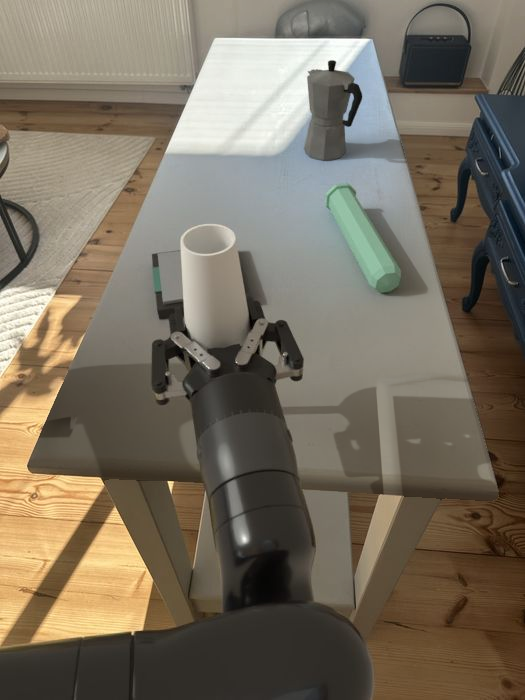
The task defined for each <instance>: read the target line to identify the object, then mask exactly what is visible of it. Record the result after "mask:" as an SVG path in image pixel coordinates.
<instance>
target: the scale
mask: <svg viewBox="0 0 525 700" xmlns="http://www.w3.org/2000/svg"><path fill="white" fill-rule="evenodd" d="M238 254H239V260H240V266H241V272H242V278H243V284H244V289H245V295H246V297H252V298H253V294H252V292H251V289H250V286H249V282H248V279H247V276H246V272H245V269H244V266H243V262H242V259H241V255H240V252H239V251H238ZM151 261H152V267H151V269H152V270H151V271H152V280H153V290H154V294H155V302H156V312H157V316H158V319H159V320H162V319H163V320H165V319H169V316H170V314H173V313H175V310H174V308H180V307H181V309H182V315H183V316H184V301H183V283H182V264H181V249H177V250H171V251H163V252H156V253H151Z"/></svg>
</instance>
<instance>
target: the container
mask: <svg viewBox="0 0 525 700" xmlns="http://www.w3.org/2000/svg"><path fill="white" fill-rule="evenodd" d="M324 199H325V201H324V206H325V207H326V208H327V209H328V210H329V211H330V212H331V214H332V215H333V217H334V219H335V221H336V223H337V225H338V227H339V228H340V230H341V233H342V235H343V236H344V238H345V240H346V242H347V244H348V246H349V247H350V249H351V251H352V254H353V255H354V257H355V259H356V261H357V263H358V265H359V267H360V269H361V271H362V273H363V275H364V277H365V278H366V280H367V282H368V284H369V286H371V287H372V288H373V289H374V290H376V291H377V292H379V293H380V294H382V293H389V292H392V291H393V290H394V289H396V288H397V287H399V286H400V281H401V278H402V270H401V269H400V267H399V265H398V263H397V262H396V260H395V259H394V257H393V256H392V254H391V251H390V250H389V249H388V247H387V245H386V244H385V242H384V240H383V239H382V237H381V235H380V234H379V232H378V230H377V229H376V227H375V226H374V224H373V222H372V220H371V218H370V217H369V216H368V213H367V212H366V211H365V209H364V207H363V205H362V204H361V202H360V201H359V199H358V197H357V191H356V189H355V188H354V187H353V186H352V185H351V184H349V182H344V183H343V182H342V183H335V184H334V185H333V186H332V187H331V188H330V189H329V190H328V191H327V192H326V193H325V198H324Z"/></svg>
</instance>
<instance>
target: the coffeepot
mask: <svg viewBox="0 0 525 700" xmlns="http://www.w3.org/2000/svg"><path fill="white" fill-rule="evenodd" d="M336 65H337V61H336V60H332V59H330V60H328V61H327V69H317V68H316V69H311V70H307V73H308V75H307V76H306V80H307V94H308V106H309V107H308V108H309V112H310V113H311V117H310V118H311V119H310V120H309V123H308V127H307V132H306V137H305V141H304V147H303V150H304V152H305V155H307V156H308V157H309V158H311V159H314V160H318V161H334V160H338V159H339V158H342V157H343V156H344V154H345V153H346V151H347V147H346V129H345V128H346V127H347V128H350V127H351V126H352V125H353V122H354V120H355V117H356V115H357V113H358V110H359V107H360V105H361V103H362V100H363V92H362V90H361V87H360V85H359V84H358V83H355V79H356V78H355V77H354V76H353V75H352V74H351V73H349V71H343V70H338V69H336ZM351 95H352V96H353V98H352V102H351V106H350V110H349V111H348V114H347V120H346V119H344V115H345V114H346V113H347V109H348V106H349V102H350V98H351Z"/></svg>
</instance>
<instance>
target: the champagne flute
mask: <svg viewBox="0 0 525 700" xmlns="http://www.w3.org/2000/svg"><path fill="white" fill-rule="evenodd" d="M179 242H180V243H179V244H180V250H181V264H182V283H183V301H184V315H183V320H184V327H185V334H186V337H187V338H188V339H189V340H190V341H192V342H193V341H195V342H196V343H197V344H199V345H200V346H201V347H202V348H203V349H204V350H205V351H206V352H207V349H210V348H225V347H228V346H230V345H235V344H240V346H243V344H244V342H245V340H246V338H247V335H248V333H249V332H251V325H250V319H249V313H248V307H247V301H246V295H245V289H244V284H243V278H242V272H241V266H240V260H239V255H240V253H239V254H238V252H239V250H238V243H237V238H236V234H235V232H234V231H233V230H232V229H231V228H229V227H228V226H225V225H223V224H218V223H205V224H199V225H196V226H193V227H191V228H189V229H187V230H186V231H185V232H183V234H181V237H180V241H179Z"/></svg>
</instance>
